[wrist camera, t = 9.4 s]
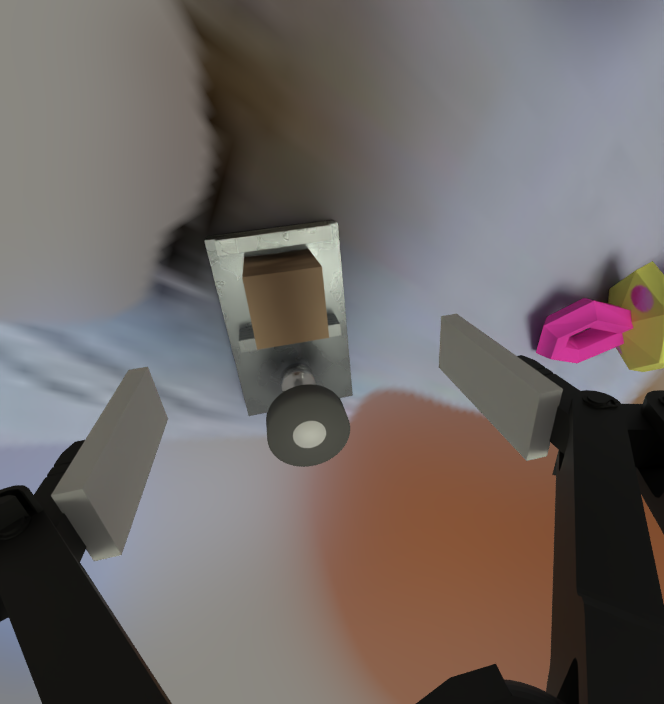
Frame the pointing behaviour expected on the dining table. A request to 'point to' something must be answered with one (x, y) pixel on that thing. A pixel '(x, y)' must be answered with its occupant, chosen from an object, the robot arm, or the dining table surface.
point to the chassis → (294, 359)
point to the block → (285, 298)
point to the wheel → (307, 425)
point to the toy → (612, 324)
